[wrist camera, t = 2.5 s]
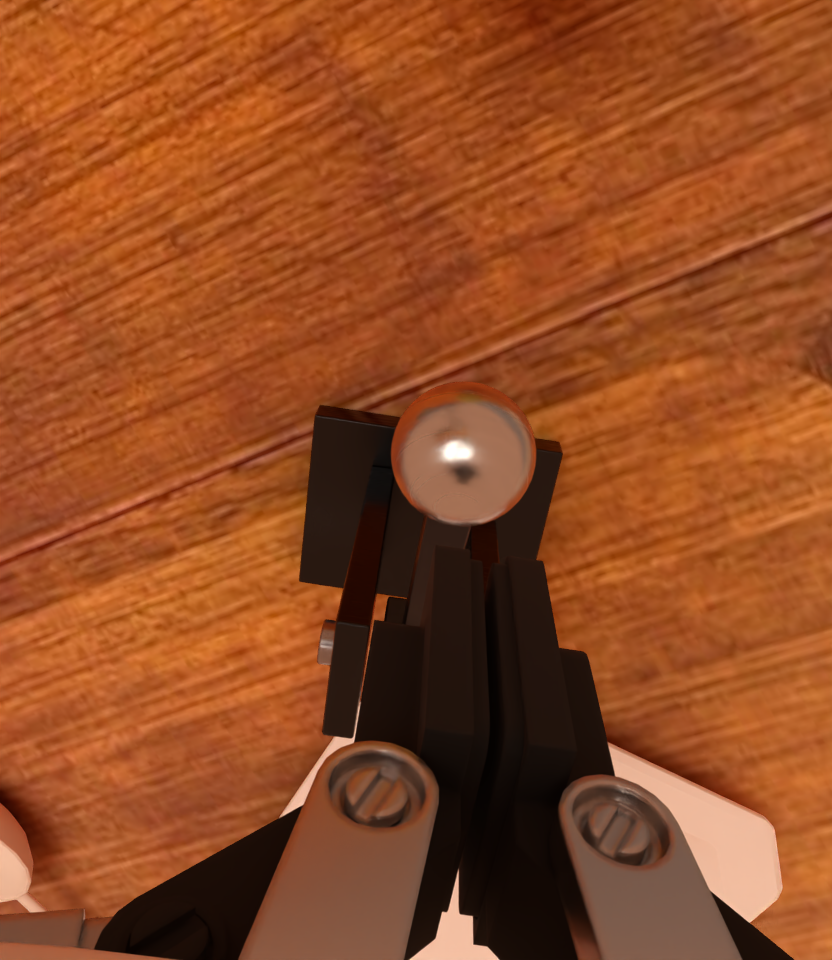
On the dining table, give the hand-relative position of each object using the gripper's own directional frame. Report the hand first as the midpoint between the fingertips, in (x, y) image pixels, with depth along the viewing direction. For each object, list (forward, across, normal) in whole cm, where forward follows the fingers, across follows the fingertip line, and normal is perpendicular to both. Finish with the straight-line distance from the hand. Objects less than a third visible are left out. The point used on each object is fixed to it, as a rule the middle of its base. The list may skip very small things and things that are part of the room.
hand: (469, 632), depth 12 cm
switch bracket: (+20, 0, +8) cm, 22 cm away
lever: (+10, 0, +3) cm, 10 cm away
